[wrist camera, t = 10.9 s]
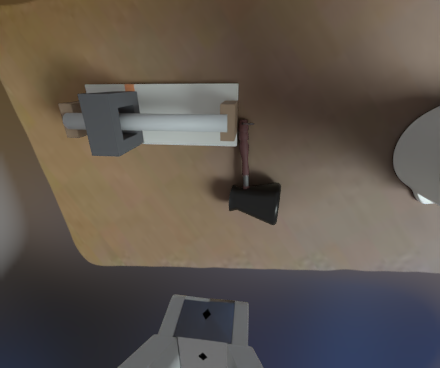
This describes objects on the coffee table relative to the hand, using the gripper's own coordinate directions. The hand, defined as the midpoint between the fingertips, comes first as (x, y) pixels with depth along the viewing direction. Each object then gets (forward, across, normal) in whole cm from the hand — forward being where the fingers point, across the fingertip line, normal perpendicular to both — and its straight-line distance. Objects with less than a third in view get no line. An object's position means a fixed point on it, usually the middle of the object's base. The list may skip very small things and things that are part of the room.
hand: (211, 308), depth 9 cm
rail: (+34, +14, -3) cm, 37 cm away
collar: (+30, +18, -3) cm, 35 cm away
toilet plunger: (+35, -3, +6) cm, 35 cm away
